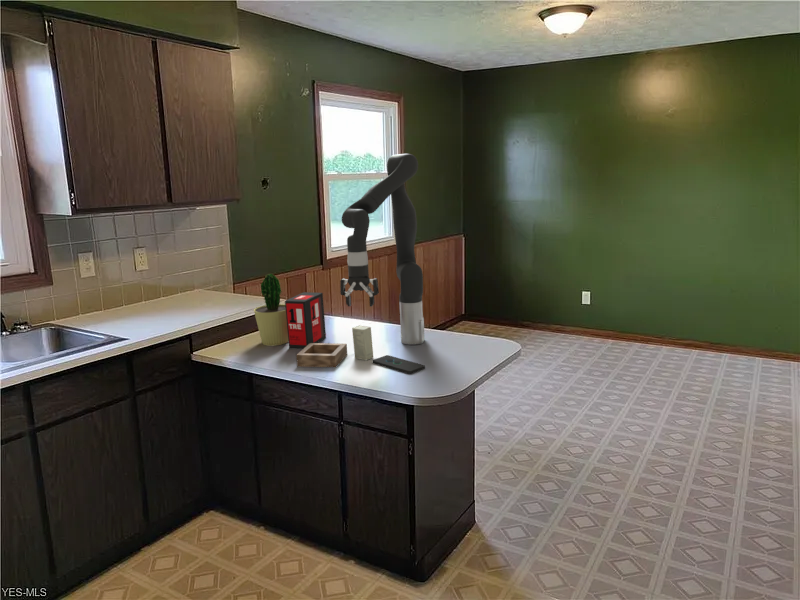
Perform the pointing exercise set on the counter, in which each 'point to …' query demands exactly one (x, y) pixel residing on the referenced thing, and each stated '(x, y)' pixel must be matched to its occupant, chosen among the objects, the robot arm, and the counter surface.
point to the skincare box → (362, 342)
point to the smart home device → (398, 364)
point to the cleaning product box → (305, 319)
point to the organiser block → (321, 355)
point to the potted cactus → (272, 314)
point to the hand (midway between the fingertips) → (360, 306)
